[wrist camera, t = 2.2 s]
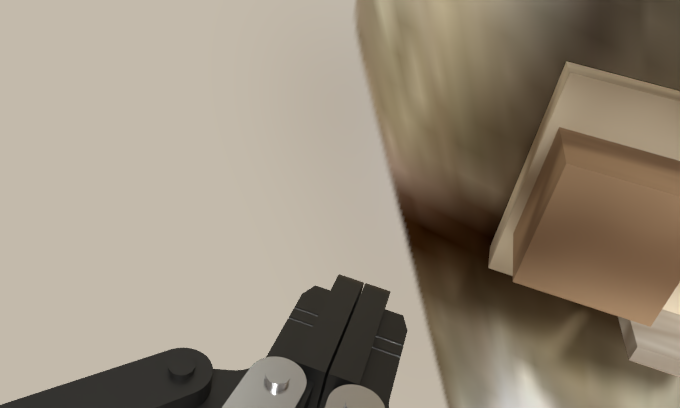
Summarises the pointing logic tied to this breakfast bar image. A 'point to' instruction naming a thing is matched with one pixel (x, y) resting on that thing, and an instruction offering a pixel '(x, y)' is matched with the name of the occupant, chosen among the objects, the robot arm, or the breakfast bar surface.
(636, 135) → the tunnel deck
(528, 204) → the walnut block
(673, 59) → the breakfast bar surface
